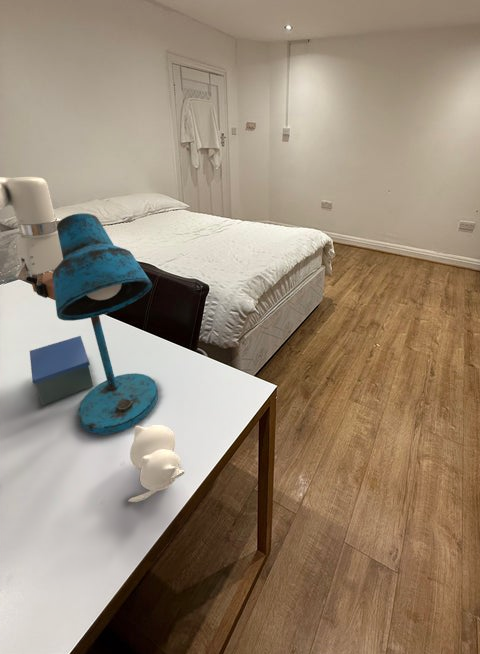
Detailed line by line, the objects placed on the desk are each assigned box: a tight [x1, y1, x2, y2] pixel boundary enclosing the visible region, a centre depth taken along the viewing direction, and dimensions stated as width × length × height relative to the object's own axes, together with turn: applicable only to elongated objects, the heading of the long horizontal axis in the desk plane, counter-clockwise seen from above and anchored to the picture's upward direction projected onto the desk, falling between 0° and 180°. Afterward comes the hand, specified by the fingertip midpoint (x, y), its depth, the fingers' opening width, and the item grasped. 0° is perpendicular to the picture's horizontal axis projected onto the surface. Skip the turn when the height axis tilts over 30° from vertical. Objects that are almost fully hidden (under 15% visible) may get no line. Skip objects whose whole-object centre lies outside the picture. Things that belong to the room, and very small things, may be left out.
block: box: [31, 271, 55, 301], centre depth 86 cm, size 11×5×4 cm, turn 64°
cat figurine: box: [128, 424, 185, 503], centre depth 59 cm, size 9×11×12 cm
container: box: [29, 335, 94, 406], centre depth 79 cm, size 13×11×8 cm
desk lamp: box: [52, 212, 159, 435], centre depth 65 cm, size 16×22×45 cm
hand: (55, 291), depth 87 cm, fingers closed on block, 5 cm apart
